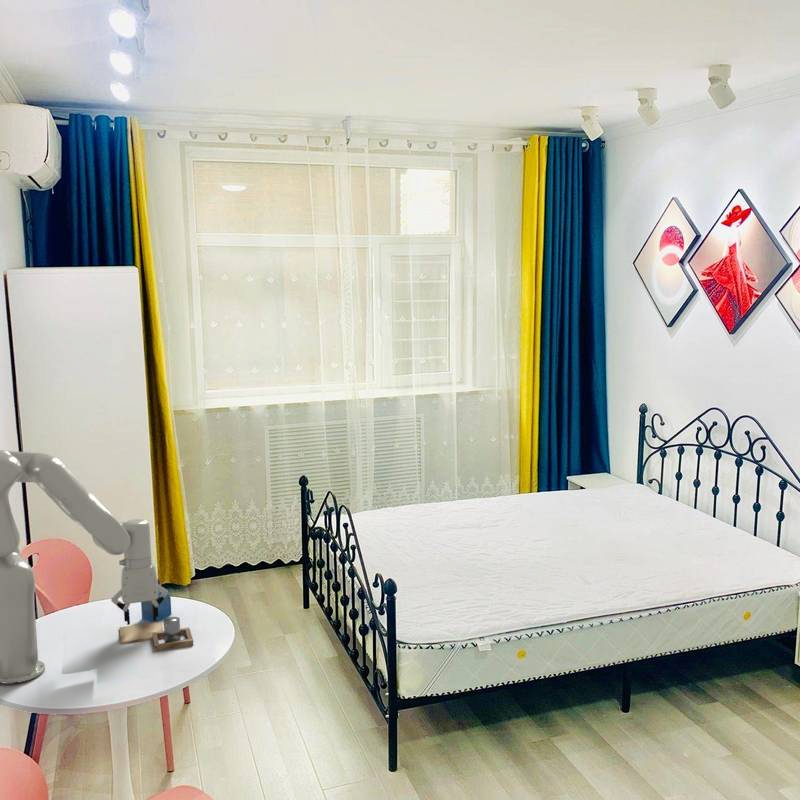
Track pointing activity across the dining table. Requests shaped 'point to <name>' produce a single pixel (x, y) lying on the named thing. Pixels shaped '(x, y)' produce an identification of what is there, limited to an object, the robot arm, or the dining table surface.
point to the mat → (139, 632)
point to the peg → (172, 629)
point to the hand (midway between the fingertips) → (141, 620)
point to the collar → (176, 643)
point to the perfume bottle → (163, 608)
